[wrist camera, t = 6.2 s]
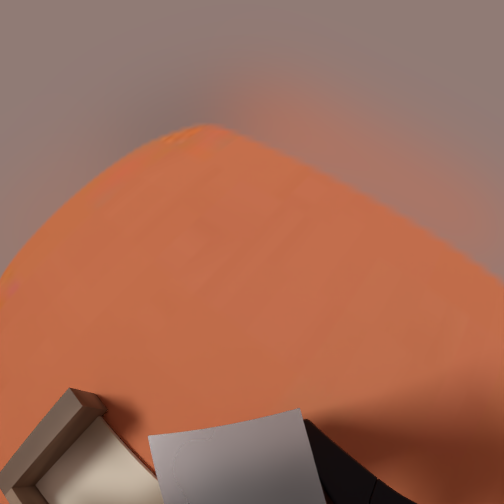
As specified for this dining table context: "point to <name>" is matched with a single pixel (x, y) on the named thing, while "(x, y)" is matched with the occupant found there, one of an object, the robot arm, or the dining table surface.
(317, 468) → the robot arm
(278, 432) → the bracket
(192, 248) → the dining table surface
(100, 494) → the corner fixture
